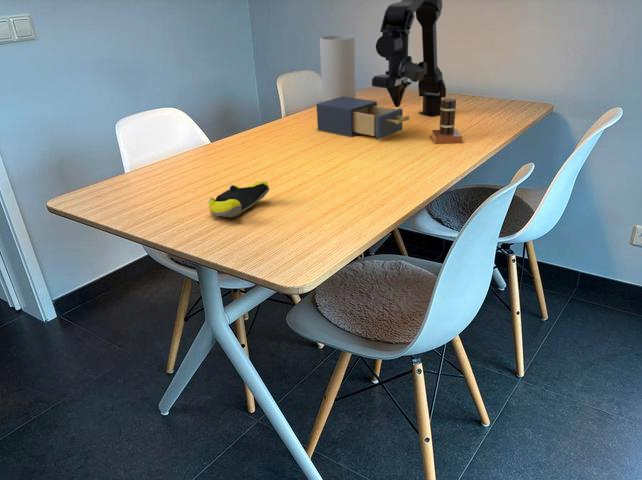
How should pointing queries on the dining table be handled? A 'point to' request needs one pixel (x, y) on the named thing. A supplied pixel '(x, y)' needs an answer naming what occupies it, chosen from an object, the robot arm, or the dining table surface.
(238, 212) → the black and yellow sneaker
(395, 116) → the drawer
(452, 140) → the stand
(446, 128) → the bundle
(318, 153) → the dining table surface
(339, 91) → the cylinder vase
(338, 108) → the cabinet
